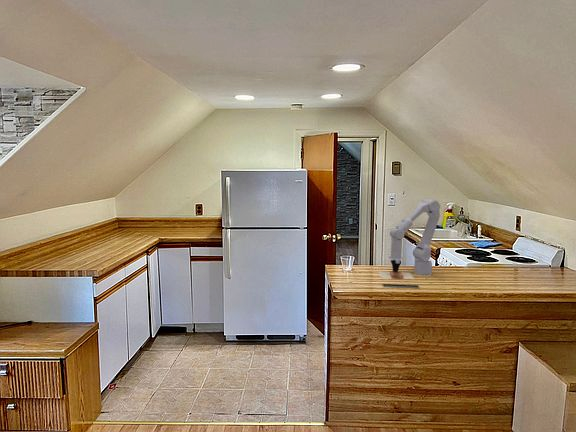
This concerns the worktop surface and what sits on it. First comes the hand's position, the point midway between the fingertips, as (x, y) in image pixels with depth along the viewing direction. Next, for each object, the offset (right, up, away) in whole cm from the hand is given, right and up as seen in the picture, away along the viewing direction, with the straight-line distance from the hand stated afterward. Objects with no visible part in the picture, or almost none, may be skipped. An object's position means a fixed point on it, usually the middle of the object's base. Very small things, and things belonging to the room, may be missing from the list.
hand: (395, 273), depth 237 cm
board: (0, -2, -1) cm, 2 cm away
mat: (-1, -4, -14) cm, 15 cm away
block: (-1, -1, -5) cm, 5 cm away
